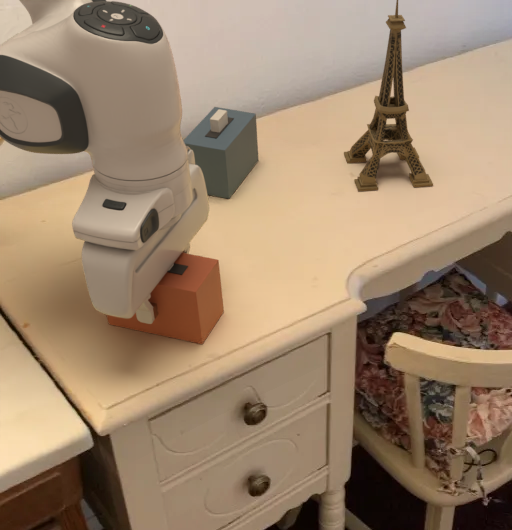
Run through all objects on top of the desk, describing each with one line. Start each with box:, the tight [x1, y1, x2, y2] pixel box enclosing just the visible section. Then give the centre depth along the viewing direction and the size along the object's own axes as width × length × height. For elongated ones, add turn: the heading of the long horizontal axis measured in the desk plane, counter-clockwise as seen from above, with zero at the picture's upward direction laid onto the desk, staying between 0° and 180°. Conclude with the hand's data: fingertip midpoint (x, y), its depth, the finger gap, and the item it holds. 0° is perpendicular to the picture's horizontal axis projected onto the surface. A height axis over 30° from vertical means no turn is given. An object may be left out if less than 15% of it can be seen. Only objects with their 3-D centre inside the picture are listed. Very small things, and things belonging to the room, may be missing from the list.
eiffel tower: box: [343, 0, 434, 192], centre depth 109 cm, size 11×11×25 cm
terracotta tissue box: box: [106, 253, 225, 345], centre depth 89 cm, size 11×6×9 cm, turn 76°
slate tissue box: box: [183, 106, 259, 200], centre depth 112 cm, size 11×6×9 cm, turn 166°
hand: (163, 298), depth 90 cm, fingers closed on terracotta tissue box, 6 cm apart
